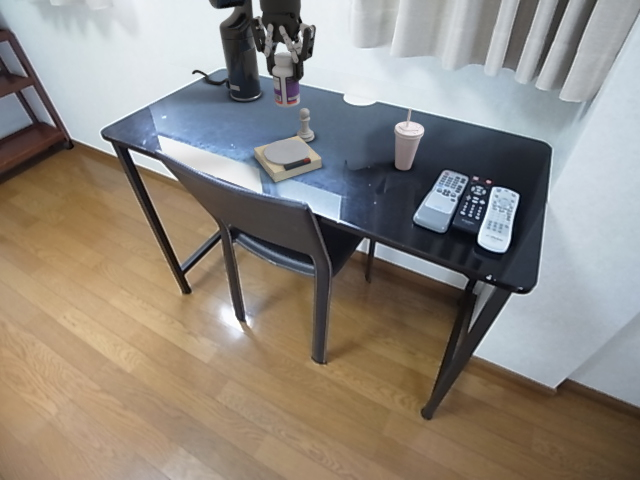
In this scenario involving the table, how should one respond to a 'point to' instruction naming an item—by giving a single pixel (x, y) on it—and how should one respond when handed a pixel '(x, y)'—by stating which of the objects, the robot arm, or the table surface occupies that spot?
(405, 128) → the smoothie
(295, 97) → the pill bottle
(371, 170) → the table surface
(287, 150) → the scale
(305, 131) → the chess piece
